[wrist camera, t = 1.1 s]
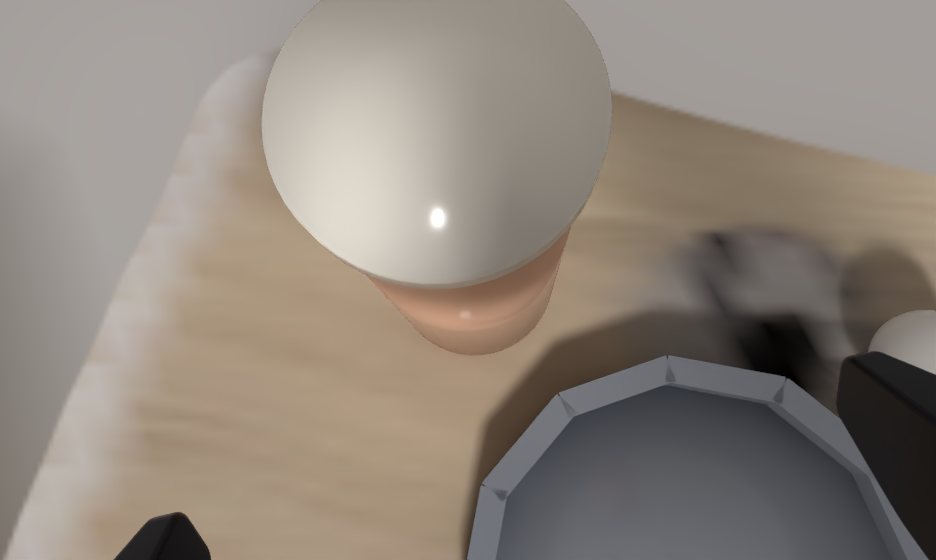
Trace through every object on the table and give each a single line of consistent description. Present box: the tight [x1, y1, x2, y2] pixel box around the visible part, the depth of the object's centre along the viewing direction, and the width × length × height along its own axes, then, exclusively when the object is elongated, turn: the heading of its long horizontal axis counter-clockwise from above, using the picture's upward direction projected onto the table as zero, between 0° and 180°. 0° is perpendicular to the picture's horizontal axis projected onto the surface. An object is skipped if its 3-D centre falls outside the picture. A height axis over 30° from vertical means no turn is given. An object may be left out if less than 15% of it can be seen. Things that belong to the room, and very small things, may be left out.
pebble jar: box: [262, 0, 612, 355], centre depth 16 cm, size 6×6×12 cm
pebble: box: [868, 310, 936, 374], centre depth 19 cm, size 3×3×3 cm
